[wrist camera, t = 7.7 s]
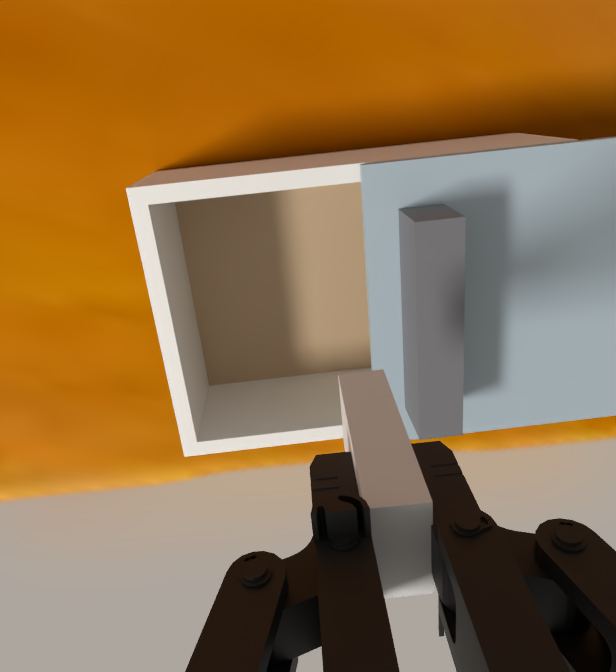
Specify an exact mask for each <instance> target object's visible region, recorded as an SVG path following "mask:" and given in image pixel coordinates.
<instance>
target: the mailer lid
mask: <svg viewBox="0 0 616 672" xmlns="http://www.w3.org/2000/svg"><path fill="white" fill-rule="evenodd" d="M360 179H361V197H362V214H363V231H364V248H365V265H366V283H367V300H368V317H369V334H370V351H371V369H372V370H382V369H383V370H384V372H385V375H386V378H387V380H388V383H389V386H390V388H391V391H392V394H393V396H394V399H395V402H396V405H397V407H398V410H399V413H400V415H401V418H402V421H403V423H404V426H405V429H406V431H407V434H408V437H409V440H413V439H419V440H422V439H431V438H439V437H448V436H456V435H463V433H472V432H480V431H489V430H497V429H505V428H514V427H522V426H531V425H539V424H547V423H556V422H564V421H573V420H581V419H590V418H598V417H606V416H615V415H616V136H614V137H605V138H596V139H586V140H577V141H568V142H558V143H549V144H540V145H531V146H521V147H512V148H503V149H493V150H484V151H475V152H466V153H456V154H447V155H438V156H428V157H419V158H410V159H400V160H391V161H382V162H373V163H363V164H360Z"/></svg>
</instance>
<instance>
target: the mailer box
mask: <svg viewBox="0 0 616 672" xmlns="http://www.w3.org/2000/svg"><path fill="white" fill-rule="evenodd" d="M577 140H578V139H569V138H560V137H551V136H542V135H533V134H524V133H515V132H514V133H504V134H495V135H486V136H476V137H467V138H458V139H448V140H439V141H430V142H420V143H411V144H402V145H392V146H383V147H374V148H364V149H355V150H345V151H336V152H327V153H317V154H308V155H299V156H289V157H280V158H271V159H261V160H252V161H243V162H233V163H224V164H215V165H205V166H196V167H187V168H177V169H168V170H159V171H155V172H153V173H151V174H150V175H148V176H146V177H144V178H143V179H141V180H139V181H138V182H136V183H134V184H132V185H131V186H129V187H127V188H126V191H127V196H128V201H129V205H130V210H131V214H132V219H133V223H134V228H135V233H136V237H137V242H138V246H139V251H140V255H141V260H142V265H143V269H144V274H145V278H146V283H147V287H148V292H149V297H150V301H151V306H152V310H153V315H154V319H155V324H156V329H157V333H158V338H159V342H160V347H161V351H162V356H163V360H164V365H165V370H166V374H167V379H168V383H169V388H170V392H171V397H172V402H173V406H174V411H175V415H176V420H177V424H178V429H179V434H180V438H181V443H182V447H183V452H184V456H185V457H186V456H195V455H203V454H212V453H220V452H229V451H237V450H246V449H254V448H263V447H271V446H279V445H288V444H296V443H305V442H313V441H322V440H330V439H339V438H343V427H342V415H341V403H340V391H339V379H338V374H343V373H353V372H362V371H372V369H371V351H370V334H369V317H368V300H367V283H366V265H365V248H364V231H363V214H362V197H361V179H360V164H363V163H373V162H382V161H391V160H400V159H410V158H419V157H428V156H438V155H447V154H456V153H466V152H475V151H484V150H493V149H503V148H512V147H521V146H531V145H540V144H549V143H558V142H568V141H577Z"/></svg>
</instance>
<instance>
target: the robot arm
mask: <svg viewBox="0 0 616 672" xmlns="http://www.w3.org/2000/svg"><path fill="white" fill-rule="evenodd" d="M338 379H339V391H340V403H341V415H342V427H343V439H344V447H345V452H341V453H331V454H322V455H316V456H315V458H314V460H313V462H312V464H311V465H310V477H311V491H312V505H313V506H312V511H311V519H312V529H313V537H312V539H311V541H310V543H309V544H308V545H307V546H306V547H305V548H304V549H303V550H302V551H300V552H299V553H297V554H295V555H293V556H290V557H288V558H285V559H281V558H279V557H278V556H277V555H275V554H274V553H269V552H265V551H259V552H251V553H248V554H246V555H243V556H241V557H240V558H238V559H237V560H236V561H235V562H233V563H232V565H231V566H230V568H229V569H228V571H227V573H226V575H225V577H224V580H223V582H222V584H221V587H220V589H219V592H218V594H217V596H216V599H215V601H214V604H213V606H212V609H211V611H210V613H209V616H208V618H207V621H206V623H205V626H204V628H203V630H202V633H201V635H200V638H199V640H198V642H197V645H196V647H195V649H194V652H193V654H192V657H191V659H190V661H189V664H188V666H187V669H186V671H185V672H296V668H297V663H298V656H300V655H302V654H304V653H307V652H309V651H311V650H313V649H316V648H318V647H320V646H322V658H323V672H399V667H398V662H397V657H396V653H395V648H394V643H393V638H392V633H391V629H390V623H389V618H388V614H387V609H386V604H385V599H384V598H393V597H403V596H412V595H422V594H432V593H434V583H433V581H434V582H435V585H436V588H437V591H438V594H439V636H444V631H445V634H446V637H447V641H448V644H449V647H450V650H451V654H452V657H453V661H454V664H455V667H456V671H457V672H616V551H615V550H614V549H612V547H610V546H609V545H608V544H607V543H606V542H605V541H604V540H603V539H601V538H600V536H598V535H597V534H596V533H595V532H594V531H592V530H591V529H590V528H588V527H587V526H585V525H583V524H581V523H578V522H575V521H573V520H566V519H552V520H547V521H545V522H543V523H542V524H540V525H539V527H538V529H537V530H536V534H533V533H526V532H518V531H513V530H508V529H505V528H502V527H499V526H497V524H496V523H495V521H494V520H493V519H492V518H491V516H489V515H488V514H486V513H484V512H483V511H481V510H480V508H479V506H478V504H477V502H476V500H475V498H474V496H473V494H472V492H471V490H470V487H469V485H468V484H467V481H466V479H465V477H464V475H463V474H462V471H461V469H460V467H459V465H458V463H457V460H456V458H455V456H454V454H453V452H452V451H451V450H450V449H449V448H448V447H446V446H445V445H444V444H443V443H441V442H440V441H435V442H425V443H415V444H411V442H410V440H409V437H408V434H407V431H406V429H405V426H404V423H403V421H402V418H401V415H400V413H399V410H398V407H397V405H396V402H395V399H394V396H393V394H392V391H391V388H390V386H389V383H388V380H387V378H386V375H385V372H384V370H383V369H382V370H372V371H362V372H353V373H343V374H338ZM433 578H434V579H433Z"/></svg>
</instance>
